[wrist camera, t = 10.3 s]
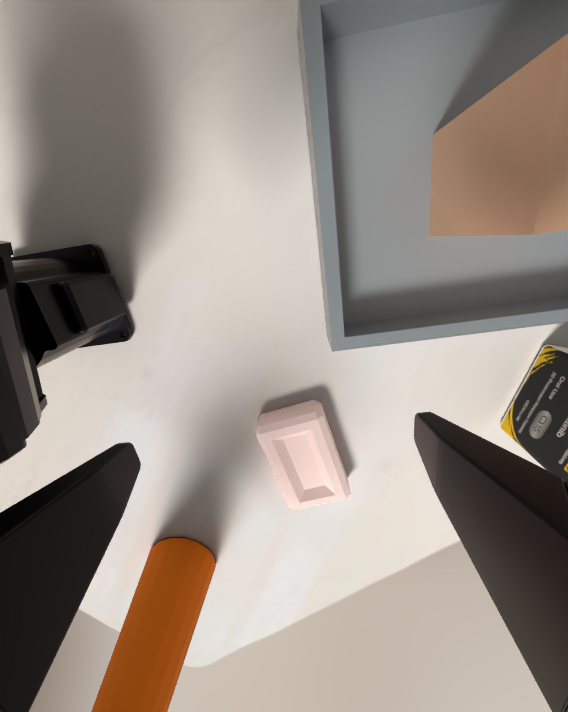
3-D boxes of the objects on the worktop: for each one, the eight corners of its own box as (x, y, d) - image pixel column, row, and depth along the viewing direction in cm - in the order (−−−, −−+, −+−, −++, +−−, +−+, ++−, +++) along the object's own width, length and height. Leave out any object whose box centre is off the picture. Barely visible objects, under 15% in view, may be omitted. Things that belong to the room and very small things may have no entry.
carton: (429, 236, 17) (533, 234, 9) (433, 134, 15) (567, 34, 8) (518, 222, 16) (701, 209, 9) (534, 115, 15) (780, -11, 7)
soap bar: (319, 395, 22) (321, 412, 20) (347, 478, 26) (352, 501, 23) (256, 412, 23) (251, 431, 21) (291, 491, 27) (291, 514, 24)
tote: (327, 335, 20) (332, 351, 17) (297, 32, 14) (298, -18, 11) (604, 299, 18) (658, 310, 16) (704, -61, 12) (820, -146, 10)
